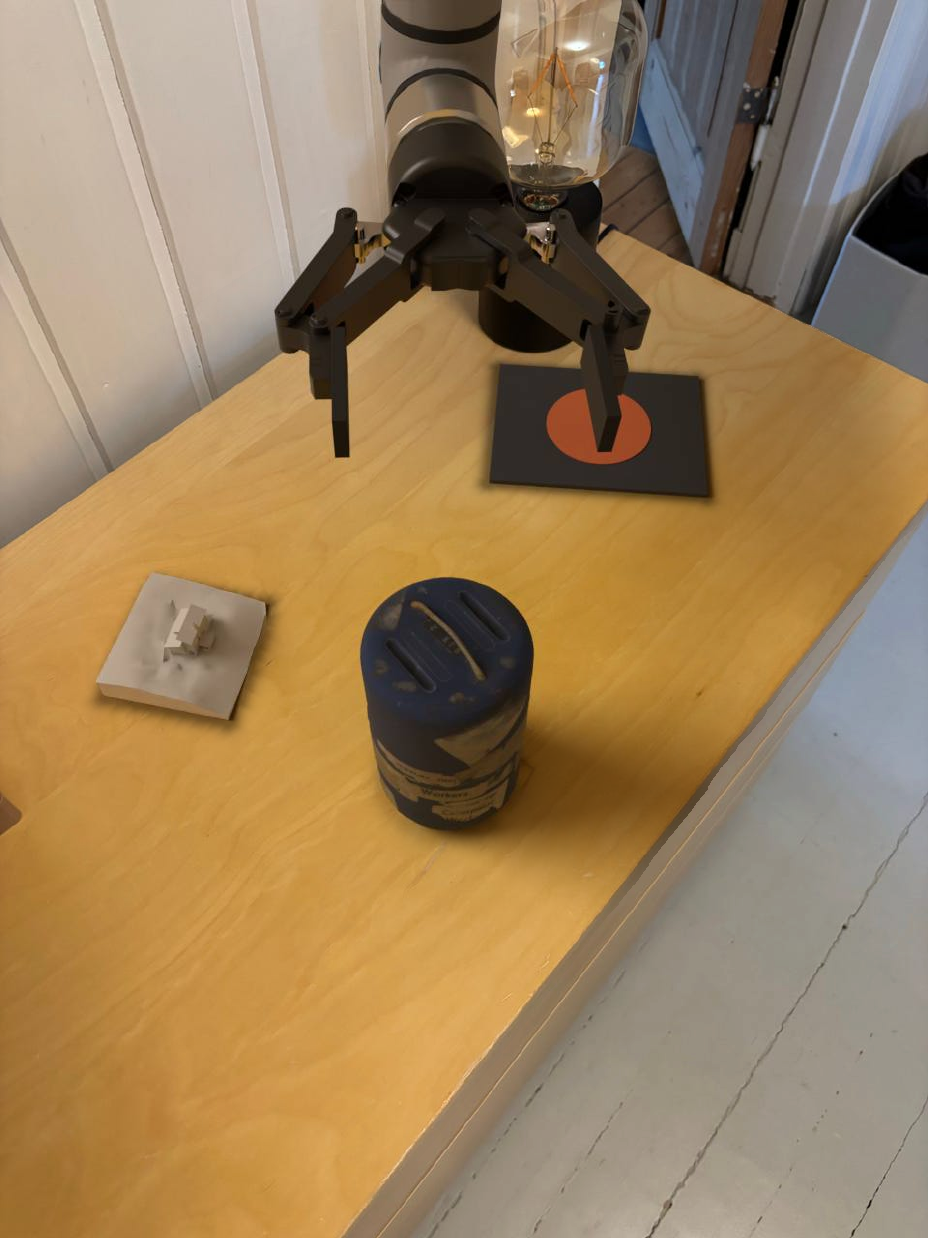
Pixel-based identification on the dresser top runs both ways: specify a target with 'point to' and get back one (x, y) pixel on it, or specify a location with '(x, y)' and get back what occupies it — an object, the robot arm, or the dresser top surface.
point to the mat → (564, 439)
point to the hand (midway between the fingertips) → (477, 437)
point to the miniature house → (184, 647)
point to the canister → (447, 699)
